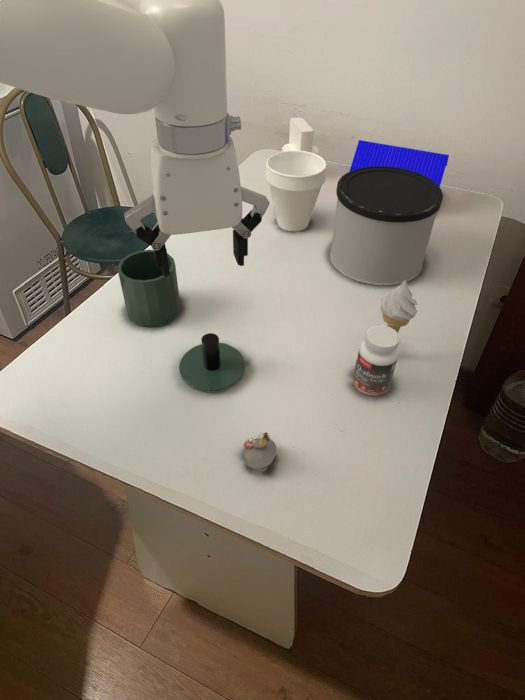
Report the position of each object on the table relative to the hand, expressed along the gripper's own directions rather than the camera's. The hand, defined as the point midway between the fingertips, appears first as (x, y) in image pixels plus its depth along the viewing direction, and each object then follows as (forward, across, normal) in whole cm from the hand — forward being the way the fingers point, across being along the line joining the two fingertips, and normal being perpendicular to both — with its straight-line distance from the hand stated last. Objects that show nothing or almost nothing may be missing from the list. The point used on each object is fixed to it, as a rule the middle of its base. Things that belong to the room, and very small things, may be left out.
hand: (202, 265), depth 67 cm
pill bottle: (+20, -23, +9) cm, 32 cm away
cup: (+20, -26, -39) cm, 51 cm away
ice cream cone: (+20, -28, +4) cm, 35 cm away
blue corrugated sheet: (+20, -53, -45) cm, 72 cm away
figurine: (+20, -3, +18) cm, 27 cm away
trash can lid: (+19, 0, 0) cm, 19 cm away
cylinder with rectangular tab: (+20, -35, -62) cm, 74 cm away
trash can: (+20, +7, -17) cm, 27 cm away
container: (+20, -38, -22) cm, 48 cm away
